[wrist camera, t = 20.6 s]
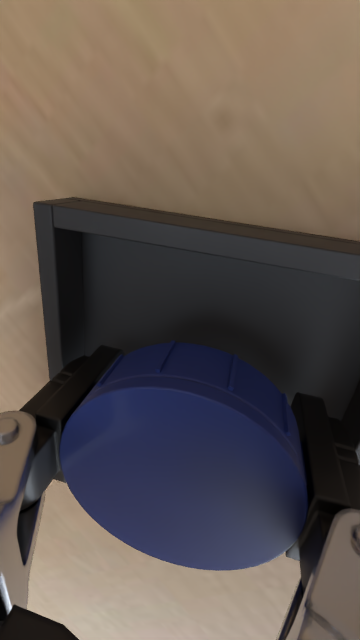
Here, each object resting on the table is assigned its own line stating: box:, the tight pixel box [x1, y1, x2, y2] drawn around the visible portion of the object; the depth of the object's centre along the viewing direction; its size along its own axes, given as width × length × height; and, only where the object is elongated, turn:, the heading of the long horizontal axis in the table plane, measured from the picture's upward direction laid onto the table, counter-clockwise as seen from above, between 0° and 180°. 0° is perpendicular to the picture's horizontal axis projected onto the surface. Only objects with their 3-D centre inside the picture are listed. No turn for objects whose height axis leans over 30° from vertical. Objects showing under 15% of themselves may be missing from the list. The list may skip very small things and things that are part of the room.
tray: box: [33, 197, 360, 465], centre depth 11 cm, size 11×11×2 cm
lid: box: [59, 341, 308, 570], centre depth 8 cm, size 6×6×2 cm
